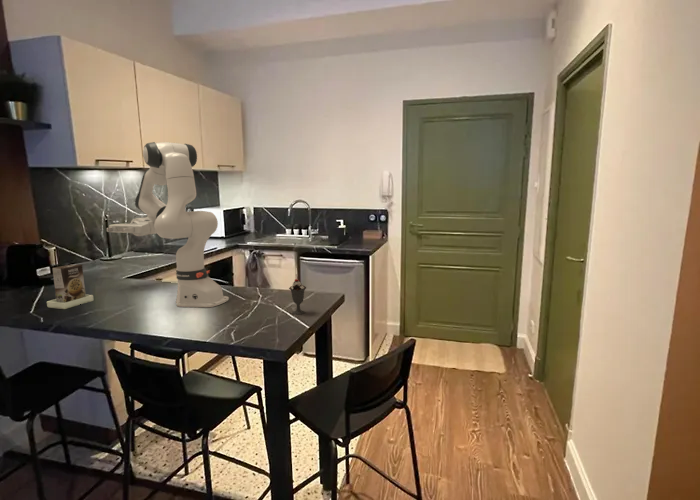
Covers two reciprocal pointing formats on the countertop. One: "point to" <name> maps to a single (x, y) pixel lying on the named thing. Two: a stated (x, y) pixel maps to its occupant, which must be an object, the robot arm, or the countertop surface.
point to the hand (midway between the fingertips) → (115, 230)
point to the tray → (69, 304)
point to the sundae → (297, 295)
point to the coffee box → (69, 283)
